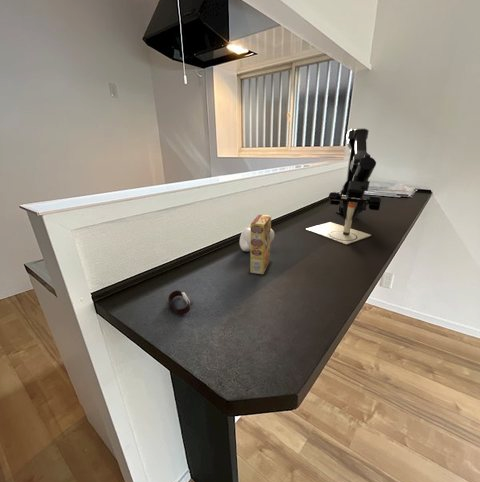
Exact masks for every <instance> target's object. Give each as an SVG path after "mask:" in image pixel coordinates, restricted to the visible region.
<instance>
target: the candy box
mask: <svg viewBox="0 0 480 482" xmlns="http://www.w3.org/2000/svg"><path fill="white" fill-rule="evenodd" d="M250 224H251V251H250V265H249V266H250V274H258V275H264V274H265V271H266V270H267V268H268V266H269V264H270V261H271V260H270V258H271V255H270V254H271V243H270V234H271V229H272V215H267V214H258V215H257V216H256V217H255V218H254V219H253V220H252V222H251V223H250Z"/></svg>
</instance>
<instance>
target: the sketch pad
mask: <svg viewBox="0 0 480 482" xmlns="http://www.w3.org/2000/svg"><path fill="white" fill-rule="evenodd" d="M344 226H345V225H341V224H337V223H335V222H332V221H329V222H326V223H325V222H324V223H321V224H317V225H314V226H311V227H307V228H305V230H306V231H309V232H312V233H315V234H317V235H320V236H322V237H325V238H327V239H330V240H333V241H336V242H338V243H341V244H344V245H350V244H353V243H356V242H358V241H361V240H363V239H366V238H369V237H372V234H370V233H367V232H363V231H360V230H357V229H353V228H351V229H350V234H349V235H343V231H344Z"/></svg>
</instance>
